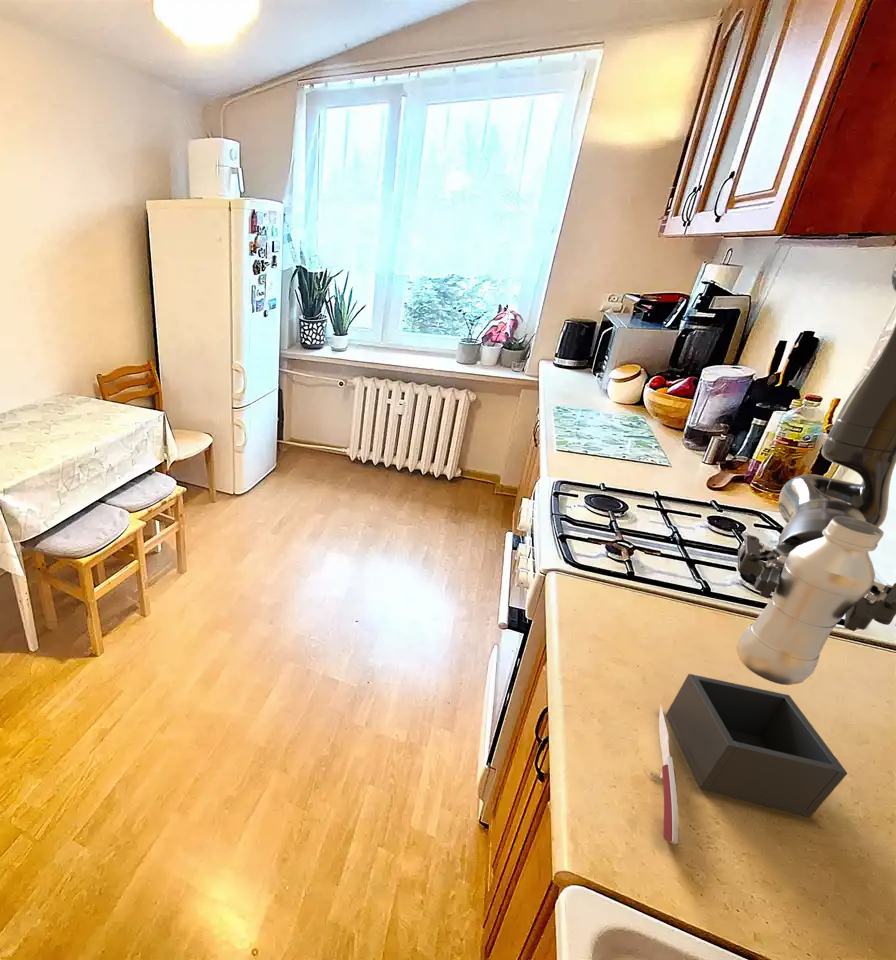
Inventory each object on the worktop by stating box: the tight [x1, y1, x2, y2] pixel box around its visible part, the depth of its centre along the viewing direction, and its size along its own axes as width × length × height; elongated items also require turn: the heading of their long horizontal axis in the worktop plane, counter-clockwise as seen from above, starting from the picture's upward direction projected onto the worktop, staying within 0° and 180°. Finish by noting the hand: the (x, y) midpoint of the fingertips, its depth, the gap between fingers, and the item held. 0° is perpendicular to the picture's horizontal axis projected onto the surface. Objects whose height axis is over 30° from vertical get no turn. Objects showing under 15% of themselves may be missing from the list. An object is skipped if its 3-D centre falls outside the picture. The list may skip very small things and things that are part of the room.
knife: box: [658, 704, 680, 847], centre depth 61 cm, size 20×1×3 cm, turn 149°
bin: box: [665, 673, 848, 818], centre depth 62 cm, size 11×11×8 cm
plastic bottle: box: [735, 516, 885, 686], centre depth 56 cm, size 6×7×20 cm
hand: (809, 606), depth 54 cm, fingers closed on plastic bottle, 6 cm apart
